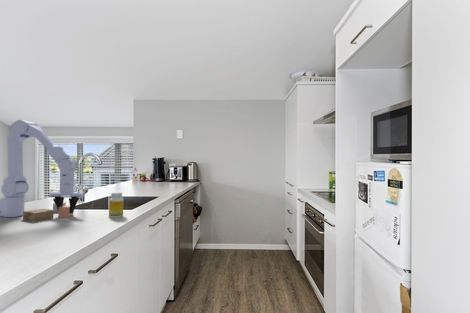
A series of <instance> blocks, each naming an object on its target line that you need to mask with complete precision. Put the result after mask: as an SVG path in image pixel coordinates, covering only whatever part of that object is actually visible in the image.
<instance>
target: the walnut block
mask: <svg viewBox="0 0 470 313" xmlns="http://www.w3.org/2000/svg"><path fill="white" fill-rule="evenodd" d="M52 219H54V213H53V209H48V208H36V209H29V210H24V211H23V215H22V220H23V221H28V222H32V221H33V223H35V222H41V221H42V222H43V221H47V220H52Z"/></svg>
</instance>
